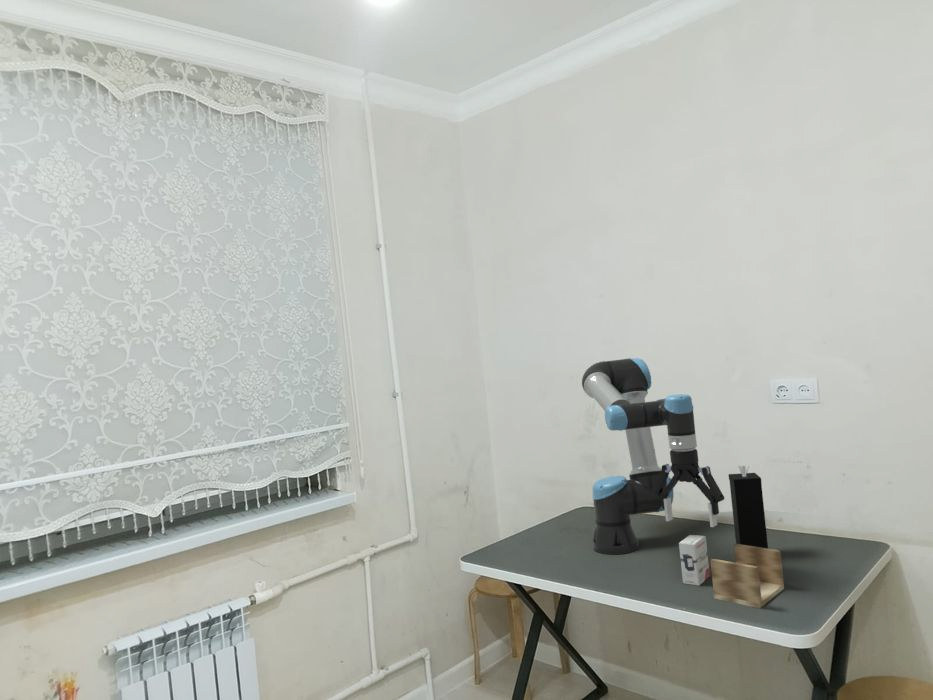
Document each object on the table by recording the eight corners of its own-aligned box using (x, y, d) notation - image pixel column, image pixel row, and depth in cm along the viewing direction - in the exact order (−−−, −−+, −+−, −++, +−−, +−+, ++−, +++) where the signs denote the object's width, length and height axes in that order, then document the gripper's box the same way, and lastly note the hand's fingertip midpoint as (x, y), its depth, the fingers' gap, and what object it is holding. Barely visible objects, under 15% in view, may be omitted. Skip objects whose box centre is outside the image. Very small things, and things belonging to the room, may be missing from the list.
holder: (714, 598, 170) (710, 560, 170) (739, 579, 181) (736, 543, 181) (760, 608, 161) (756, 568, 161) (784, 588, 172) (780, 550, 172)
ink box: (693, 573, 189) (689, 533, 189) (710, 576, 186) (706, 535, 186) (682, 583, 182) (677, 542, 182) (699, 586, 179) (695, 544, 179)
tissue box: (769, 559, 194) (760, 467, 194) (741, 560, 195) (732, 468, 195) (763, 551, 201) (753, 462, 201) (736, 552, 203) (727, 463, 203)
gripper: (638, 449, 191) (645, 521, 191) (719, 453, 172) (727, 532, 172) (651, 445, 196) (658, 514, 196) (731, 448, 178) (739, 524, 177)
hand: (691, 523), depth 184 cm, fingers open, 13 cm apart
